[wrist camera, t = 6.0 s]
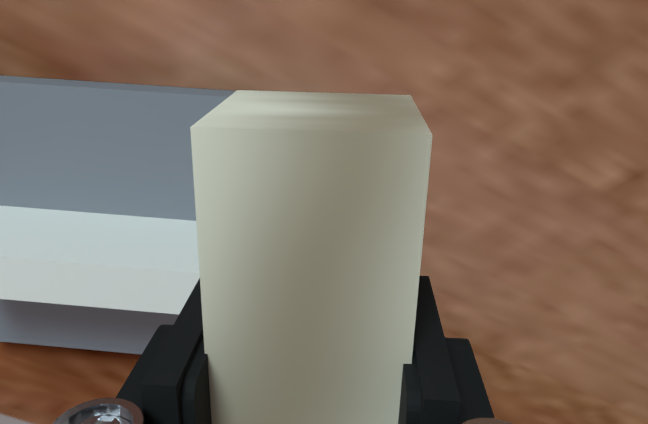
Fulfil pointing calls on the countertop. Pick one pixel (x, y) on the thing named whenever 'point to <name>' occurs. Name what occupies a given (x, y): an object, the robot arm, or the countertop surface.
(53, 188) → the stand
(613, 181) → the countertop surface
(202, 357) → the robot arm
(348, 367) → the birch beam
